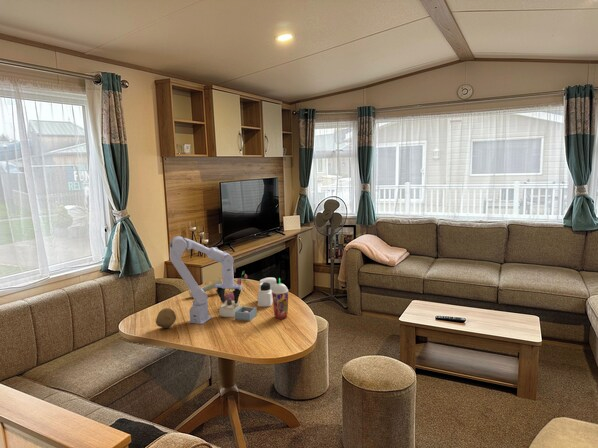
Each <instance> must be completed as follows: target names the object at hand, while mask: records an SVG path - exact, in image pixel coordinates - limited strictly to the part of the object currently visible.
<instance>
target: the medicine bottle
mask: <svg viewBox="0 0 598 448" xmlns="http://www.w3.org/2000/svg"><path fill="white" fill-rule="evenodd" d="M256 295H257V296H256V297H257V307H271V306H272V304H273V298H272V290H270V283H267V282H263V283H260V284H259V283H258V292H257V294H256Z"/></svg>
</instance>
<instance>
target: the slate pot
mask: <svg viewBox="0 0 598 448" xmlns="http://www.w3.org/2000/svg"><path fill="white" fill-rule="evenodd" d="M244 311H248V312H249V313H246V312H244ZM257 312H258V311H257V307H255V306H254V307H253V306H252V307H251V306H241V308H240V309H238V310H237V311H236V312H235V317H234V318H235V320H236V321H244V322H247V321H248V322H251V321H252V320H253V319H255V317H257V316H258V313H257Z"/></svg>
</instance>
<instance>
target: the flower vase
mask: <svg viewBox="0 0 598 448" xmlns="http://www.w3.org/2000/svg"><path fill="white" fill-rule="evenodd" d="M241 272H242V273H241V277H239V278H238V279H234V282H236V285H242V282H245V281H247V279H248V274H246V273H245V270H243V271H241ZM243 275H244V276H243ZM242 279H243V280H242ZM216 284H223V281H222V280H221V278H220V277H218V278H217V279H216V280H214V281H212V282H211V283H210V282H209V284H206V285H202V286H200V287H201V288H202V289H203V290H204V292H205V293H206V292H208V291H210V290H213V289H214V290H215V289H216V288H215V285H216ZM231 290H232V291H234V289H228V292H230V291H231ZM188 292H189V296H190V298H191V299H194V298H193V296H192V292H191V290H190V289H189V290H188Z"/></svg>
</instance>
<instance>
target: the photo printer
mask: <svg viewBox="0 0 598 448" xmlns="http://www.w3.org/2000/svg"><path fill="white" fill-rule="evenodd" d="M263 282H267V283H270V290H272V289H273V287H274V286H275V285H276V284H278V283H277V279H276V278H275V277H265V278H262V279H260V280H259V281H258V285H259V284H260V283H263Z"/></svg>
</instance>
